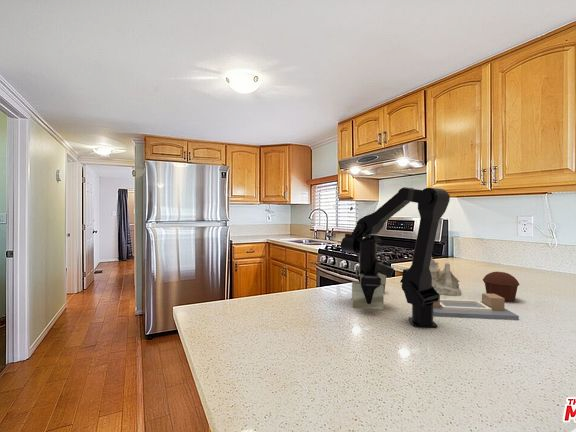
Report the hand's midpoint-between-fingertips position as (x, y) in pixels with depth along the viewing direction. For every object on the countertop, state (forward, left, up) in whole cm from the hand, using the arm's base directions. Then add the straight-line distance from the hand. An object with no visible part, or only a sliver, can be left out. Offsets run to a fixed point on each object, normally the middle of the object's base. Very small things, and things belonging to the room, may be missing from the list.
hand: (367, 300), depth 109 cm
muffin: (+17, -51, -2) cm, 54 cm away
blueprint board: (0, -31, -2) cm, 31 cm away
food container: (+21, -4, -2) cm, 22 cm away
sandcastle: (+27, -33, -3) cm, 42 cm away
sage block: (0, 0, -2) cm, 2 cm away
